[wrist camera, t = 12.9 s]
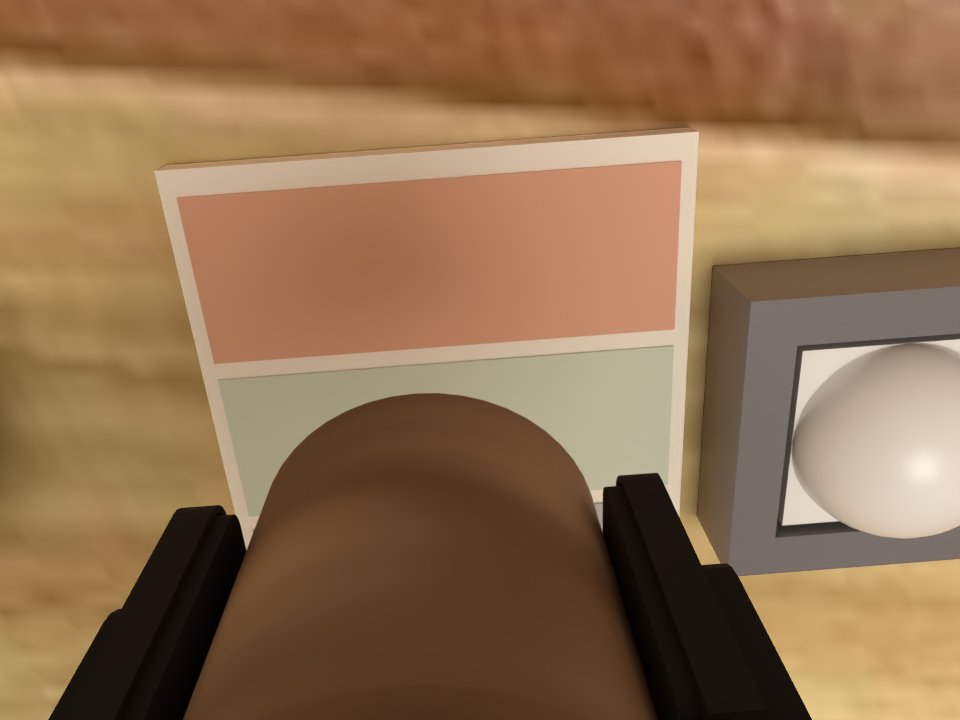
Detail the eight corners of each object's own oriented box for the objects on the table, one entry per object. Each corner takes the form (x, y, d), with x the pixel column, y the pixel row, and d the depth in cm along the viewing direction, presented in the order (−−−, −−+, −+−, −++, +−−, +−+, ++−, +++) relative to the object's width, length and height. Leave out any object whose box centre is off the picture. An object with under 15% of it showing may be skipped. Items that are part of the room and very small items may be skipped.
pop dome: (747, 473, 29) (825, 590, 23) (762, 313, 26) (854, 399, 20) (917, 460, 29) (1038, 573, 23) (949, 299, 26) (1095, 381, 20)
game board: (274, 639, 31) (268, 660, 30) (165, 165, 23) (152, 171, 22) (666, 609, 31) (674, 628, 30) (689, 127, 23) (699, 131, 22)
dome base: (696, 516, 29) (727, 577, 26) (712, 266, 25) (751, 302, 22) (955, 496, 29) (1017, 554, 26) (1012, 243, 25) (1094, 276, 22)
